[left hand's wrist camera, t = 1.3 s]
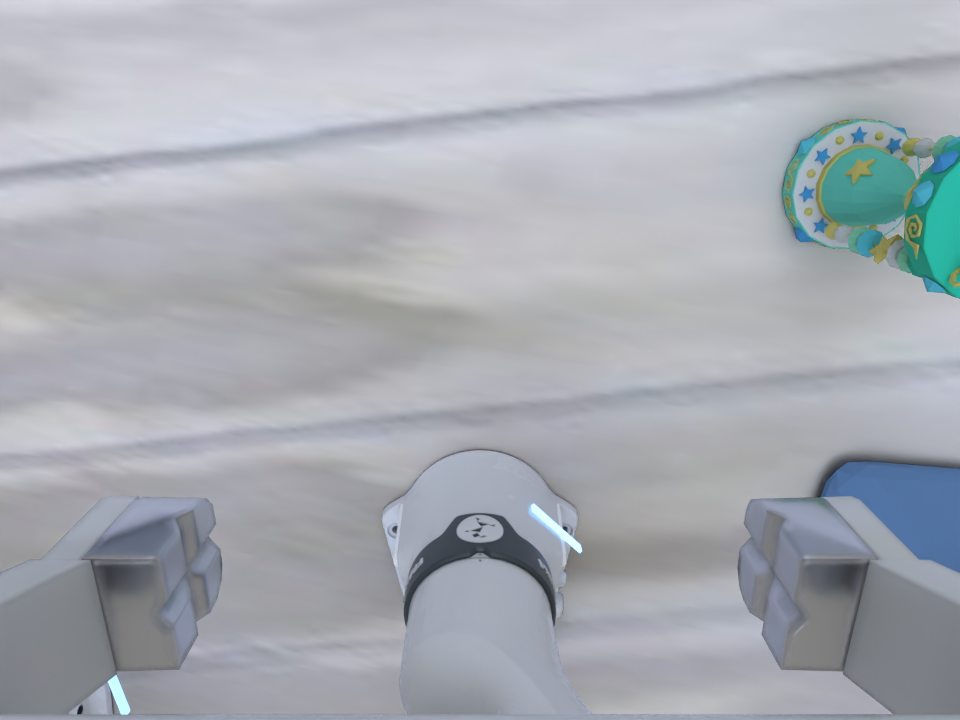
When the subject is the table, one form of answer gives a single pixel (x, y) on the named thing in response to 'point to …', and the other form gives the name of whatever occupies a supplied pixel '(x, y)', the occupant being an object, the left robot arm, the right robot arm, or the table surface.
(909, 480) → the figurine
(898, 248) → the decorative hourglass
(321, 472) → the table surface
